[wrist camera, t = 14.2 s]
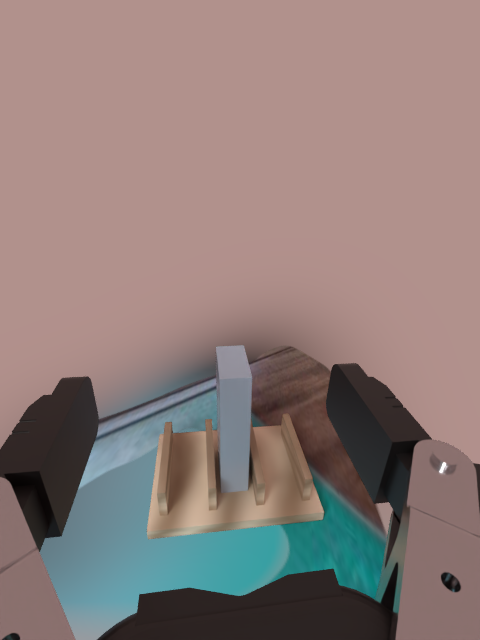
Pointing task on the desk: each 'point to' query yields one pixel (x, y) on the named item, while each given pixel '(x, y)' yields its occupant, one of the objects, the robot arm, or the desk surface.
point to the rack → (232, 507)
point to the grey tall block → (233, 417)
